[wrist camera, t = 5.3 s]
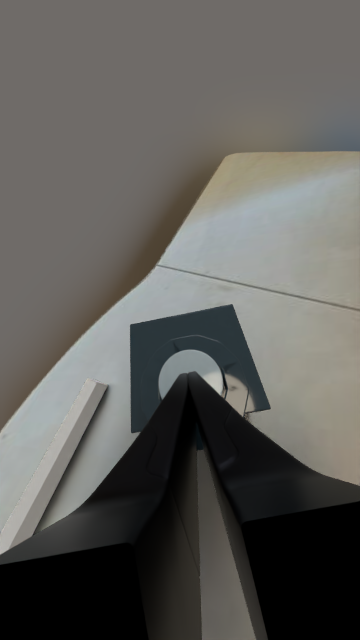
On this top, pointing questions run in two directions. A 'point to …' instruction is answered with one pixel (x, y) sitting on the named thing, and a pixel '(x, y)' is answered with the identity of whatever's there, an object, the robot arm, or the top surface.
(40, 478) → the pale grey rod
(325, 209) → the top surface
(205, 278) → the top surface
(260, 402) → the push button box
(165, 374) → the pale grey disc
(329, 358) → the top surface
